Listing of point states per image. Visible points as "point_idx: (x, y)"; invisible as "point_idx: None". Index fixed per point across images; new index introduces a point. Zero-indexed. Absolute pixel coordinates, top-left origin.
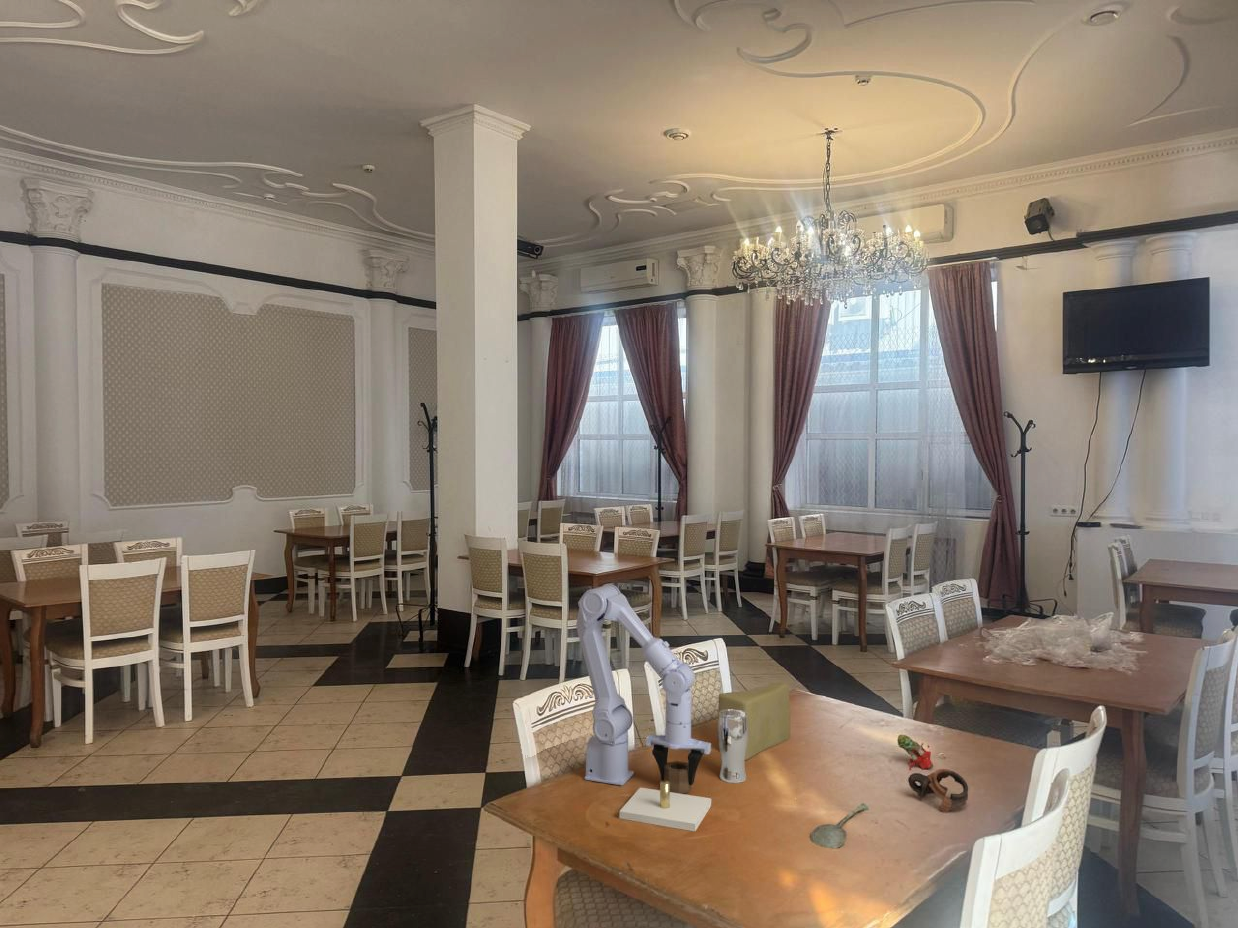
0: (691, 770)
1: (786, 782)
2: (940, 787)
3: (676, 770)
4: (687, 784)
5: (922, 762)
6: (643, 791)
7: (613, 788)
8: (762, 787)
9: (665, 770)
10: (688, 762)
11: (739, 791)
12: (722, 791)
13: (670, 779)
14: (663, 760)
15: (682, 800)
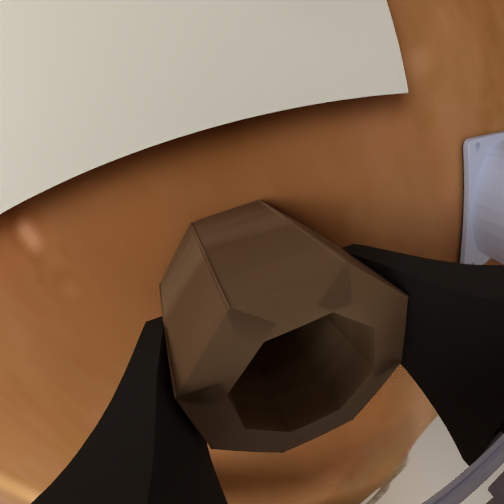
0: (130, 397)
1: (28, 500)
2: None
3: (270, 302)
4: (165, 305)
5: None
6: (368, 42)
7: (470, 103)
8: (24, 470)
9: (375, 274)
10: (152, 458)
11: (27, 427)
12: (60, 399)
13: (287, 231)
14: (449, 317)
15: (48, 64)
